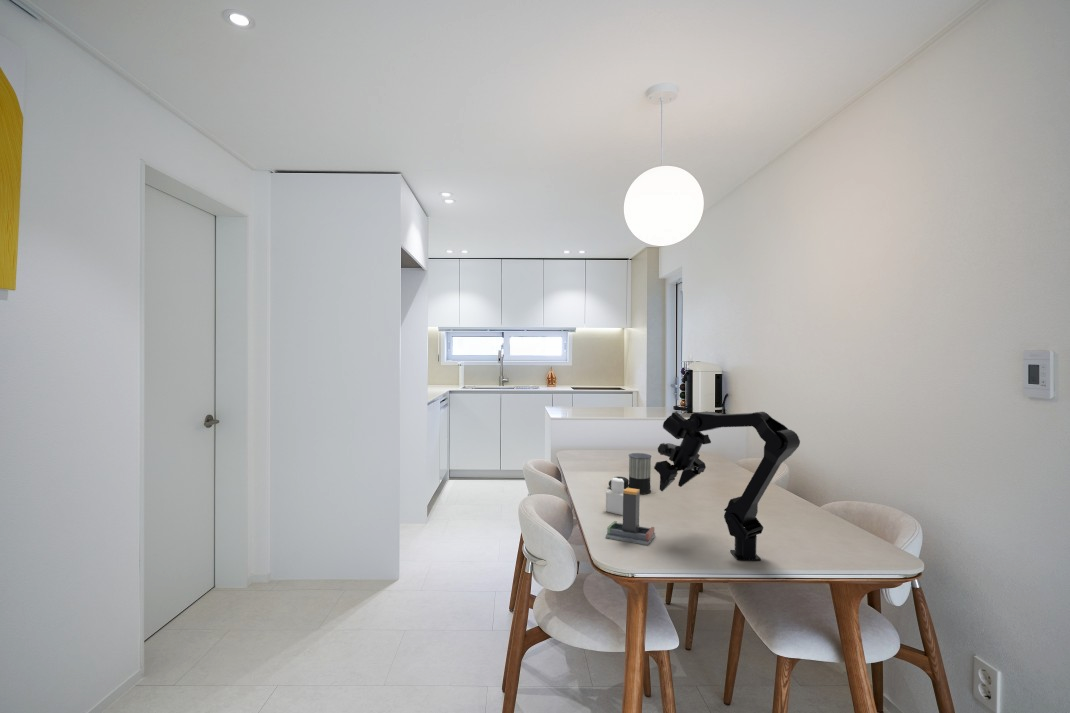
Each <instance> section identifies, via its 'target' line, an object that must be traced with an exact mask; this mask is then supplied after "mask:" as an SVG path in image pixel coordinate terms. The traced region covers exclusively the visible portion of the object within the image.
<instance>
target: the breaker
mask: <svg viewBox="0 0 1070 713" xmlns="http://www.w3.org/2000/svg"><path fill="white" fill-rule="evenodd" d="M640 495H641V494H640V489H633V488H629V487H628V488H626V489H625V490H624V491H623V515H622V524H623V530H624V531H630V532H636V533H638V532H639V526H640V501H641V500H640Z"/></svg>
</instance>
